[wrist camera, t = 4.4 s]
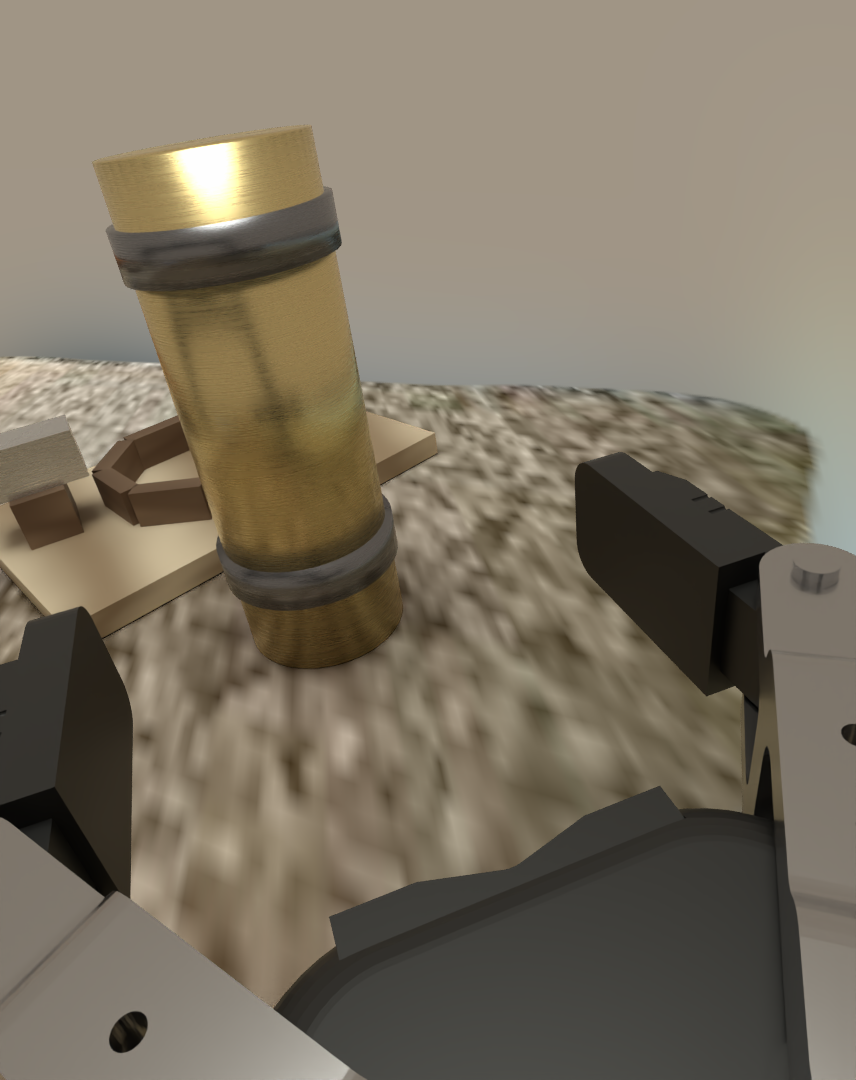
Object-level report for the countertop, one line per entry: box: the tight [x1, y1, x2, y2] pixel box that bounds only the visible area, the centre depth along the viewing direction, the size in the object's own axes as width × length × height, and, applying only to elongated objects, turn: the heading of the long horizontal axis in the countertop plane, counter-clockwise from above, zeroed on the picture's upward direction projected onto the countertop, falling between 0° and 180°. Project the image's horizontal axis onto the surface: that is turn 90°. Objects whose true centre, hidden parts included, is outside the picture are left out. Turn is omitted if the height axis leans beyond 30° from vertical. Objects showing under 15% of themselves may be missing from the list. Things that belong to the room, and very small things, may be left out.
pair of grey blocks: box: [0, 415, 89, 504], centre depth 32 cm, size 17×3×2 cm, turn 134°
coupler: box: [92, 125, 403, 668], centre depth 21 cm, size 5×5×14 cm
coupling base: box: [0, 411, 438, 638], centre depth 32 cm, size 17×12×3 cm
